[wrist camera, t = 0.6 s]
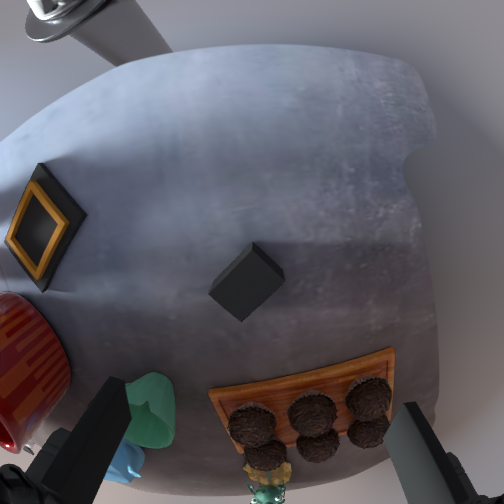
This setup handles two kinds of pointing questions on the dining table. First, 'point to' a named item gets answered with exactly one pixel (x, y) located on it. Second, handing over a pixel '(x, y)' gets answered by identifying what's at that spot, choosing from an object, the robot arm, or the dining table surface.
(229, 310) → the black rectangular block
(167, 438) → the mug
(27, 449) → the smartphone
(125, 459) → the teapot
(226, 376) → the dining table surface
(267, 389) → the chocolate muffin tray
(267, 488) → the cartoon bug character
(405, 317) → the dining table surface
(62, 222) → the base
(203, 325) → the dining table surface
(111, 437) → the robot arm
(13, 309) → the planter
